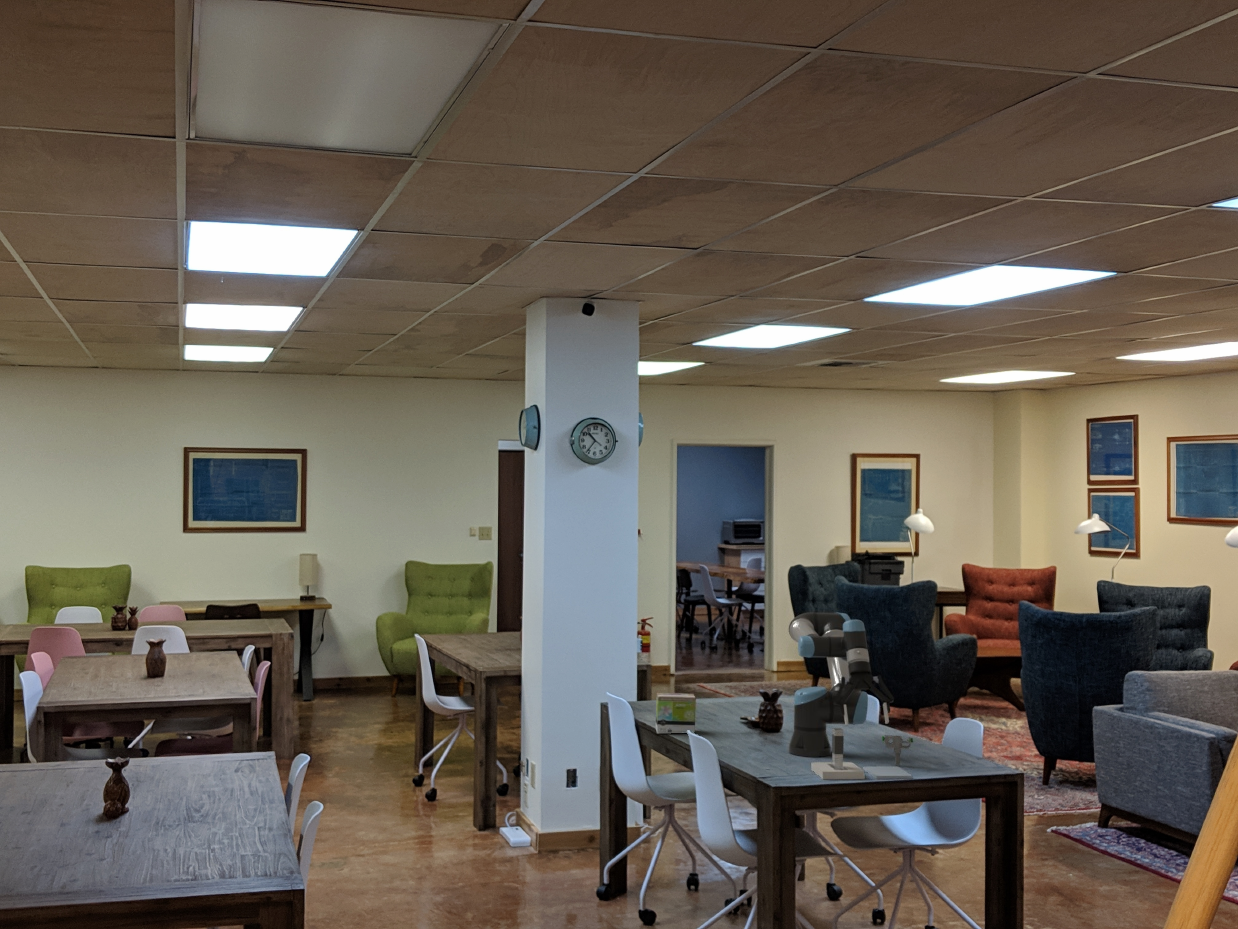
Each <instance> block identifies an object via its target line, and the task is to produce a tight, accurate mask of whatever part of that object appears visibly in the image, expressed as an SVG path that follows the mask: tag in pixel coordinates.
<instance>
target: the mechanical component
mask: <svg viewBox="0 0 1238 929" xmlns="http://www.w3.org/2000/svg"><path fill="white" fill-rule="evenodd" d="M907 738H908V739H907V740H906V741H905V740H904V739H903V737H902V736H901V735H887V734H886V735H884V736H881V740H882V742H884V744H885V747H886V748H888V749H893V753H894V765H895V767H900V765H901V764H900V763H901V761H900V760H901V758H900V756H901V754H902V749H905V750H907V749H910V748H911V745H912V744H911V743H913V742H914V738H913V737H911V736H908V737H907ZM890 740H891V741H892V742H889V741H890ZM903 744H908V745H903Z"/></svg>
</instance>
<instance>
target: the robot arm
mask: <svg viewBox="0 0 1238 929" xmlns="http://www.w3.org/2000/svg"><path fill="white" fill-rule="evenodd" d="M788 633H789V634H788V635H789V636H790V638H791V639H792V640H793V641H794V642H795V643H797V652H798V655H799V656H800V657H802V658H826V661H827V667H828V672H829V677H830V683H831V688H830V690H829V691H828V689H827V688H826V687H825V686H810V687H803V688H799V689H798V690H796V691H795V692H794V695H793V696H794V697H793V732H792V735H791V739H790V741H789V745H788V753H789V754H791V755H794V756H798V757H799V756H800V757H808V758H809V757H812V758H814V757H815V758H818V757H819V756H821V757H826V756H830V755H832V745H831V743H830V741H829V736H828V734H827V725H845V726H846V727H848V726H849V725H863V724H865V722H866V721H867V715H868V707H869V702H868V700H869V698H868V697H869V696H868V695H869V694H868V693H867V692H866V691H868V690H869V691H870V692H871V693H873V694H874V695H875V696H876V697H877V698H878V699H879V700H880V701H881V702H882V708H883V716H884V721H885V722H884V723H885V725H886V724H889V722H890V720H889V719H890V718H889V714H890V712H891V705H890V704H891V703H893V702H894V700H895V697H894V696H893V694H892V693H891V691H890V690H889V689H888V687H887V686H886V684H885V683H884V681H883V679H882V676H881V674H878V675H877V676H873V675H872V670H871V664H870V663H871V662H870V656H869V651H868V650H869V648H868V643H867V635H866V628H865V624H864V622H863V621H862V620H860V619H851V617H850V616H849V615H848V613H845V612H844V613H843V612H837V611H836V612H812V611H811V612H804V613H801V614H799V615H797V616H795V617H794V618H793V619H792V620H791V621H790V622H789V625H788ZM873 681H874V682H875V683H877V684H878V686H879V688H880V690H881V691H882V692H883V693H882V692H881V691H880V690H879V689H878V688H877V687H876V686H875V684H873Z"/></svg>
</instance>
